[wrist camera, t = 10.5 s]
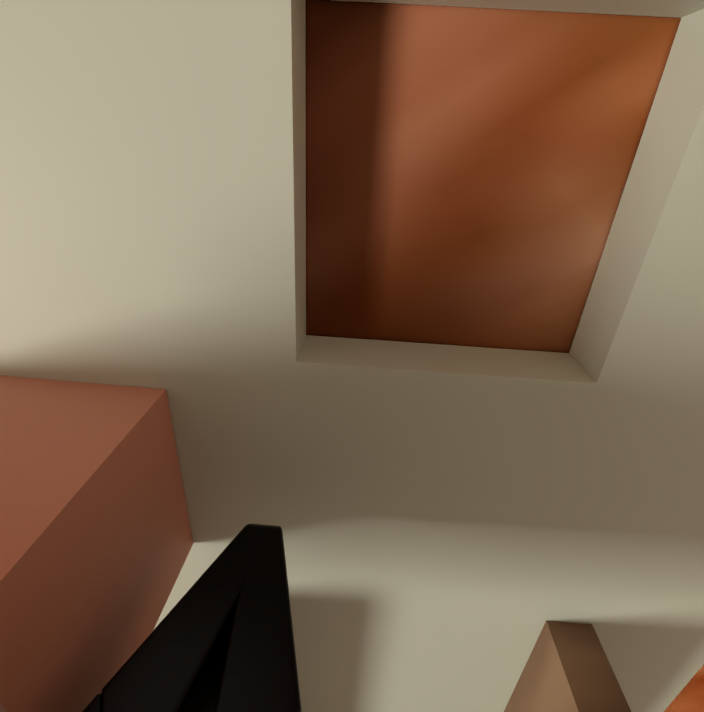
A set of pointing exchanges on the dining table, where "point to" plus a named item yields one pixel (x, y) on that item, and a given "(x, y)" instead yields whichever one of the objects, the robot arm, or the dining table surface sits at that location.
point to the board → (361, 360)
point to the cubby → (567, 674)
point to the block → (83, 535)
